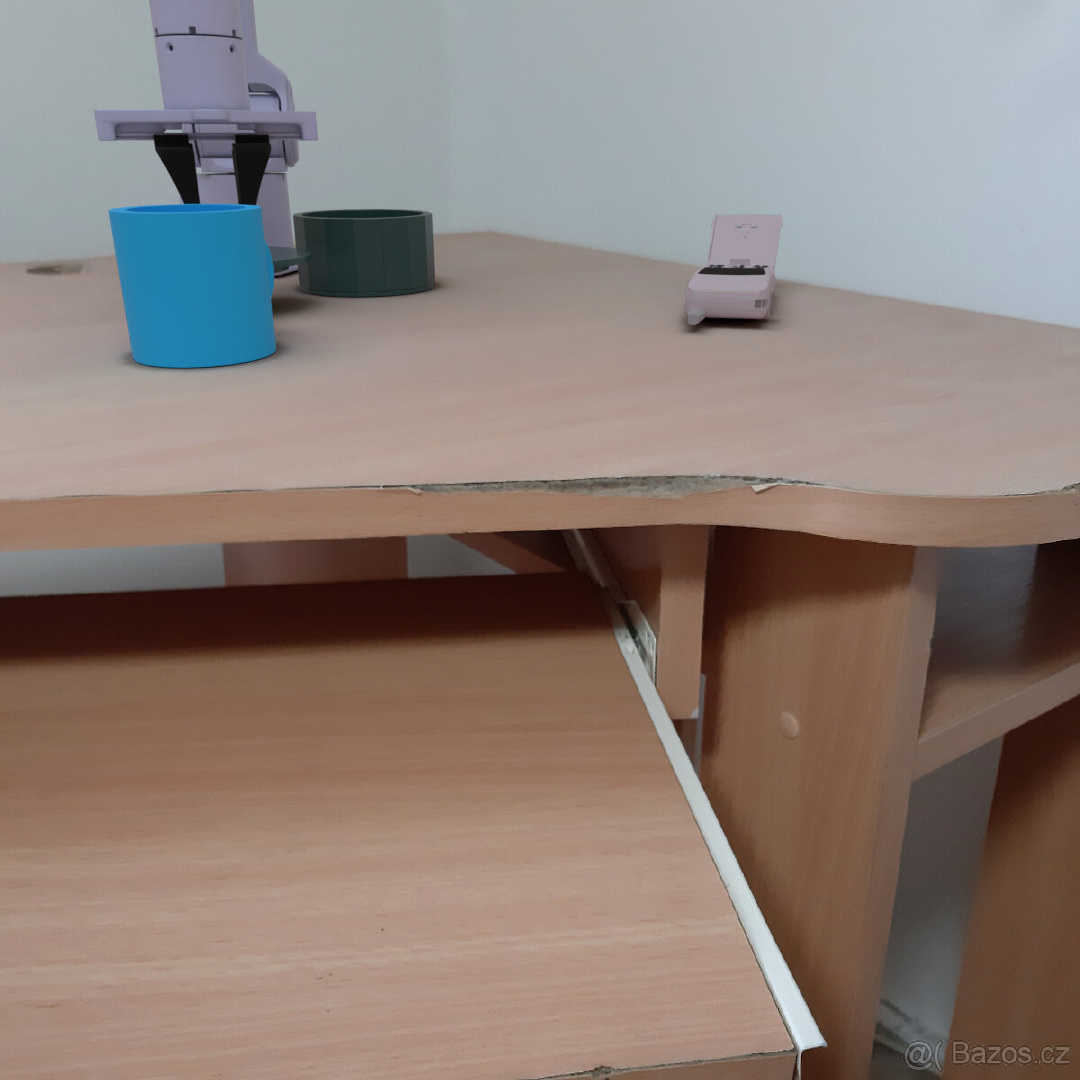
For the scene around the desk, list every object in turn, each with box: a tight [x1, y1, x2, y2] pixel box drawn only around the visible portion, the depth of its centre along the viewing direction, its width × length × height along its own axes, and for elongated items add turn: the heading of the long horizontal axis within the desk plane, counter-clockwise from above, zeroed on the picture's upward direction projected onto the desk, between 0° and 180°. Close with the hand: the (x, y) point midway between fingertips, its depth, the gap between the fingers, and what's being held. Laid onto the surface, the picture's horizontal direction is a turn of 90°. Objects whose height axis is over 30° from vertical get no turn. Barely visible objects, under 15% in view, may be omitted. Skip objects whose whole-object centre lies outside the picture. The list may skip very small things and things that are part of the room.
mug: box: [107, 203, 277, 369], centre depth 57 cm, size 12×8×8 cm
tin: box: [292, 208, 436, 298], centre depth 81 cm, size 11×11×6 cm
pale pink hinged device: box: [684, 213, 784, 326], centre depth 72 cm, size 6×6×25 cm
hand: (225, 248), depth 70 cm, fingers closed on lid, 2 cm apart
